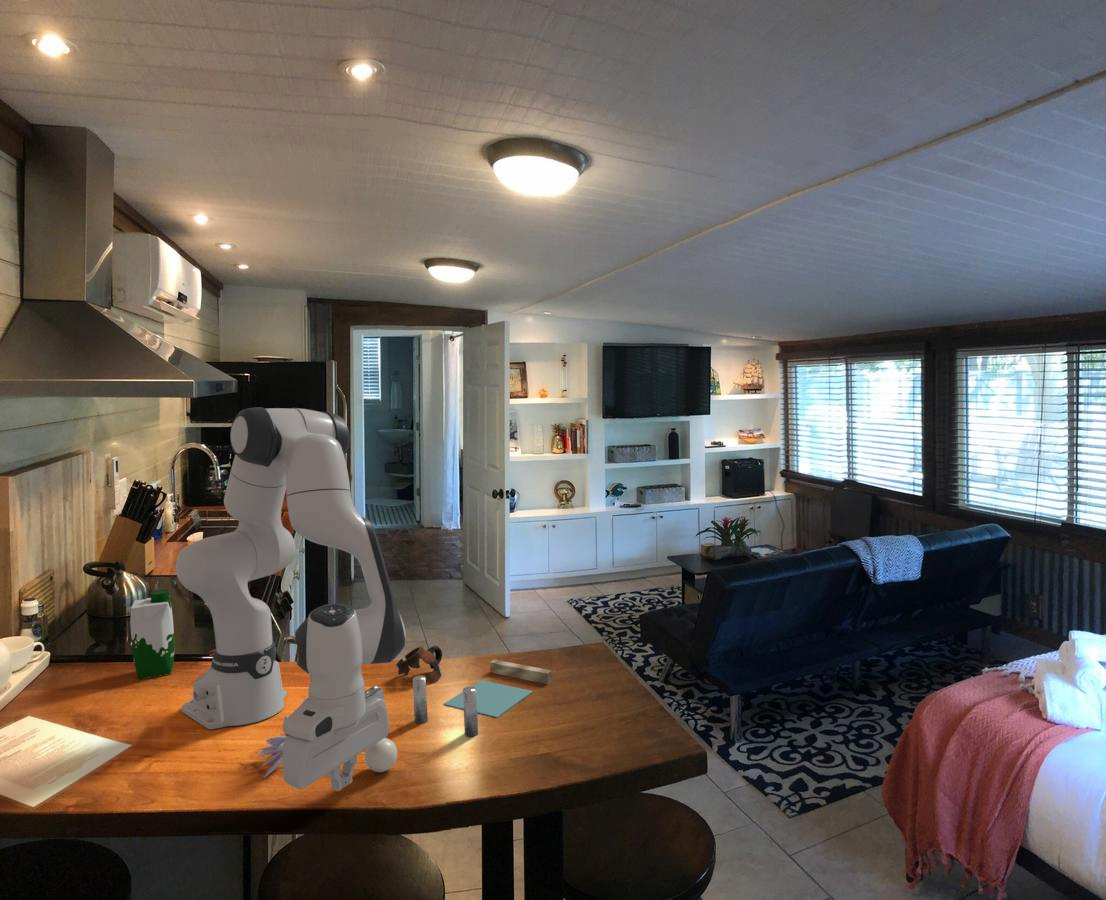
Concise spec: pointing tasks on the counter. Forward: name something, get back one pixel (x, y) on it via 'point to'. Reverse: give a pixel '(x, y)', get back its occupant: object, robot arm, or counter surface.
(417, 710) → the post
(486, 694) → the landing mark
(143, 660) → the milk carton
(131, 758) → the counter surface
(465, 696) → the post
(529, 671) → the stopper strip
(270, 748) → the water lily
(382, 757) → the ball
